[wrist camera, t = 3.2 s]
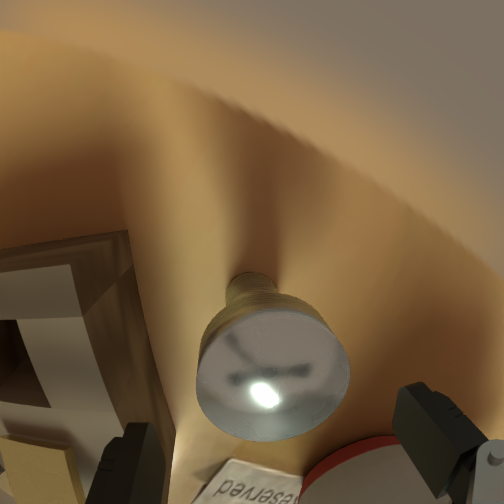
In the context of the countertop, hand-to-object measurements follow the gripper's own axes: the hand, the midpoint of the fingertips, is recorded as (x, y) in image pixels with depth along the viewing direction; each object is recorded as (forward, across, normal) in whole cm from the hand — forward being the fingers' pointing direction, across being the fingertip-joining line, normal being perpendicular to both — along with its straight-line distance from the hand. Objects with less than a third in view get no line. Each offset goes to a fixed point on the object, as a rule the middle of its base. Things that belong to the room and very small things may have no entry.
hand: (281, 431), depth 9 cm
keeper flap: (+2, +13, +7) cm, 15 cm away
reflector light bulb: (+11, 0, 0) cm, 11 cm away
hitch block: (+11, +13, +3) cm, 17 cm away
